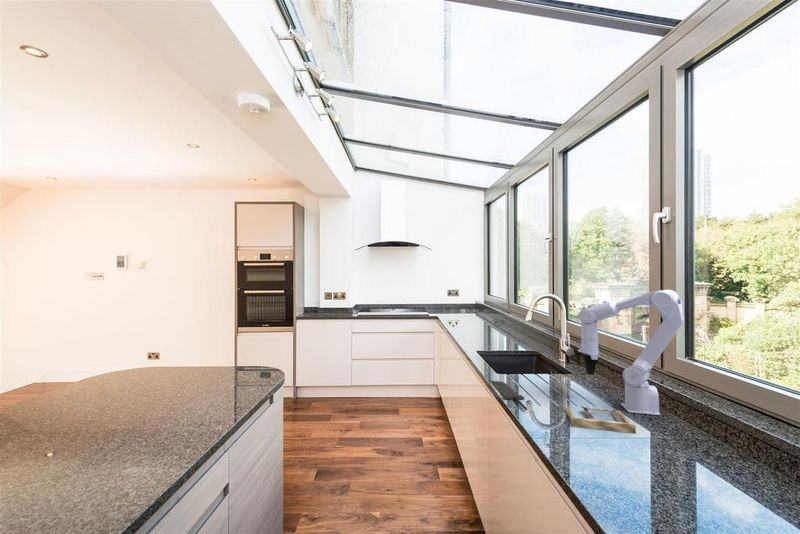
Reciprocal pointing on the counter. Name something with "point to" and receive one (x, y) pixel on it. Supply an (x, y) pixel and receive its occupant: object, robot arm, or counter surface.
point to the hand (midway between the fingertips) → (590, 374)
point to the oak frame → (603, 423)
